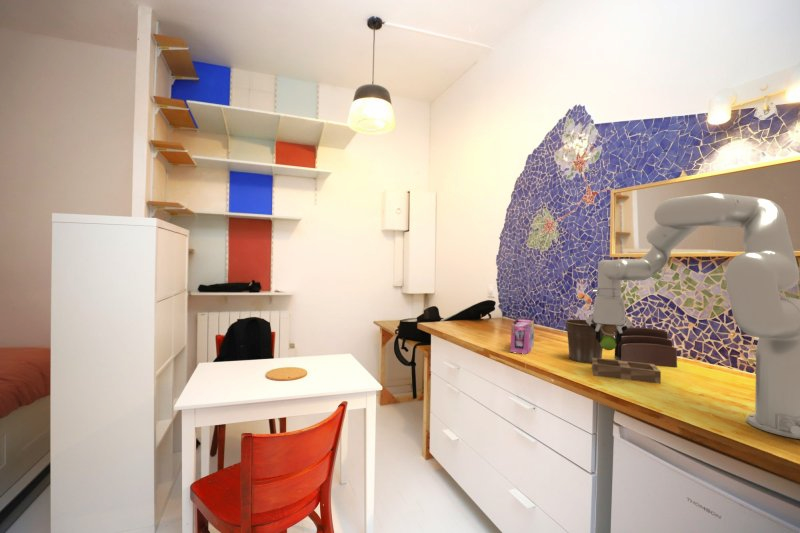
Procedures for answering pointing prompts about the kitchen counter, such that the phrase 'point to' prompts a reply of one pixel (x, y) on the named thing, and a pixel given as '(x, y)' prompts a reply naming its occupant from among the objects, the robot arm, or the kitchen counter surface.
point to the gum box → (522, 335)
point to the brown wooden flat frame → (626, 370)
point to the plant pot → (583, 341)
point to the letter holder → (646, 347)
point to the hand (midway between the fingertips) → (608, 342)
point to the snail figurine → (608, 337)
